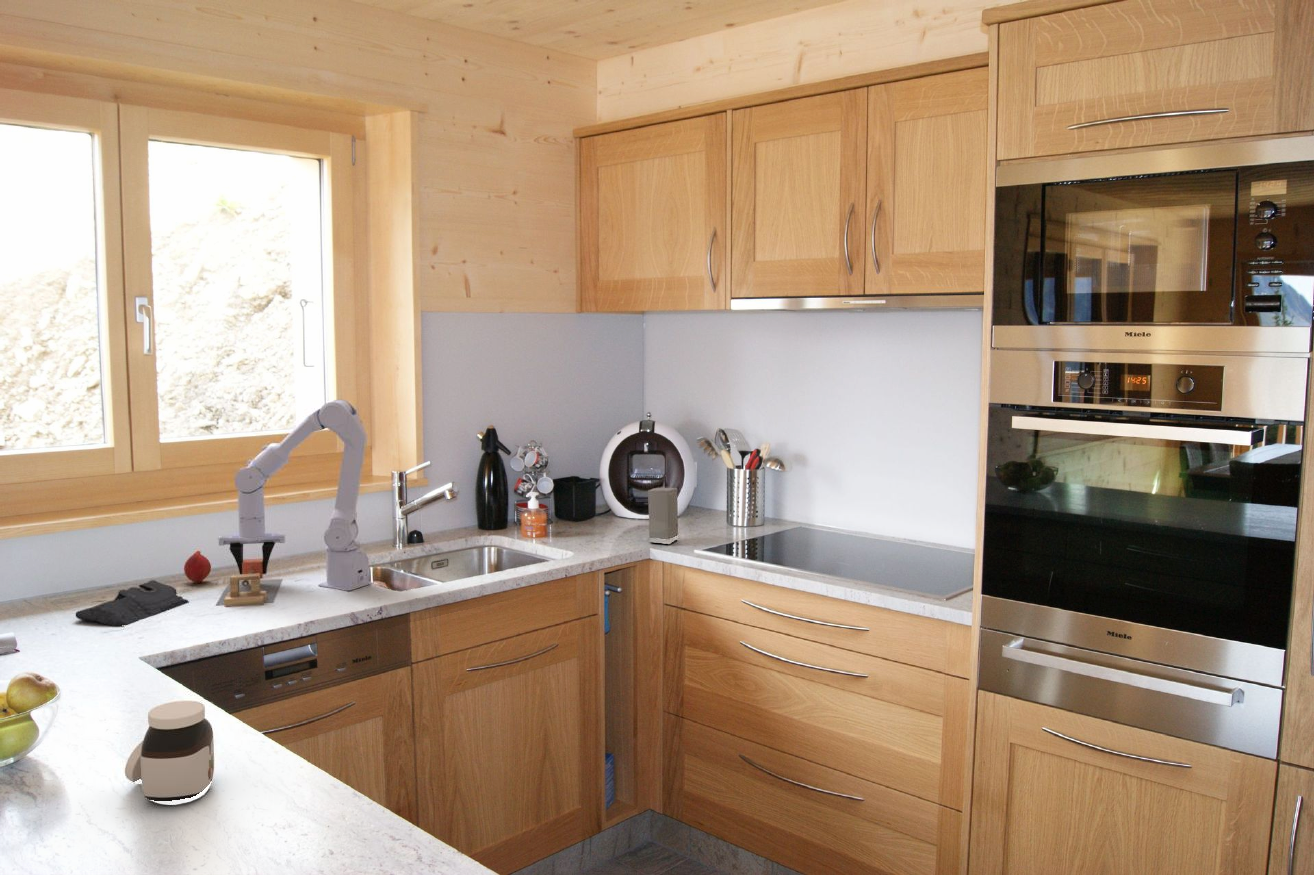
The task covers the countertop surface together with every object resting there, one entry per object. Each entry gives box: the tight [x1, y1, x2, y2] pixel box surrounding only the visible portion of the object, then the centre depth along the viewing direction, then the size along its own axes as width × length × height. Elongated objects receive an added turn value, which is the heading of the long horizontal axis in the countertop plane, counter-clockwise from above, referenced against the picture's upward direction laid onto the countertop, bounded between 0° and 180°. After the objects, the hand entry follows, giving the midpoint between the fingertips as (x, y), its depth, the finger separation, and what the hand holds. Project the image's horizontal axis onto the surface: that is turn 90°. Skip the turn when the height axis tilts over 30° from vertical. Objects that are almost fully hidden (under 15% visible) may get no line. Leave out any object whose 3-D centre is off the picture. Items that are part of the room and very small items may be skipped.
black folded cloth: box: [75, 579, 190, 627], centre depth 224 cm, size 15×22×5 cm
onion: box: [183, 549, 212, 584], centre depth 248 cm, size 6×6×8 cm
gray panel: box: [215, 578, 283, 606], centre depth 241 cm, size 22×12×1 cm, turn 15°
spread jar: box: [124, 700, 215, 801], centre depth 139 cm, size 12×11×12 cm
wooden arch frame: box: [223, 573, 266, 607], centre depth 232 cm, size 6×8×6 cm
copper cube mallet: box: [241, 558, 265, 587], centre depth 240 cm, size 16×4×4 cm, turn 15°
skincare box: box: [647, 487, 679, 539], centre depth 302 cm, size 8×7×16 cm
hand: (253, 573), depth 246 cm, fingers closed on copper cube mallet, 4 cm apart
